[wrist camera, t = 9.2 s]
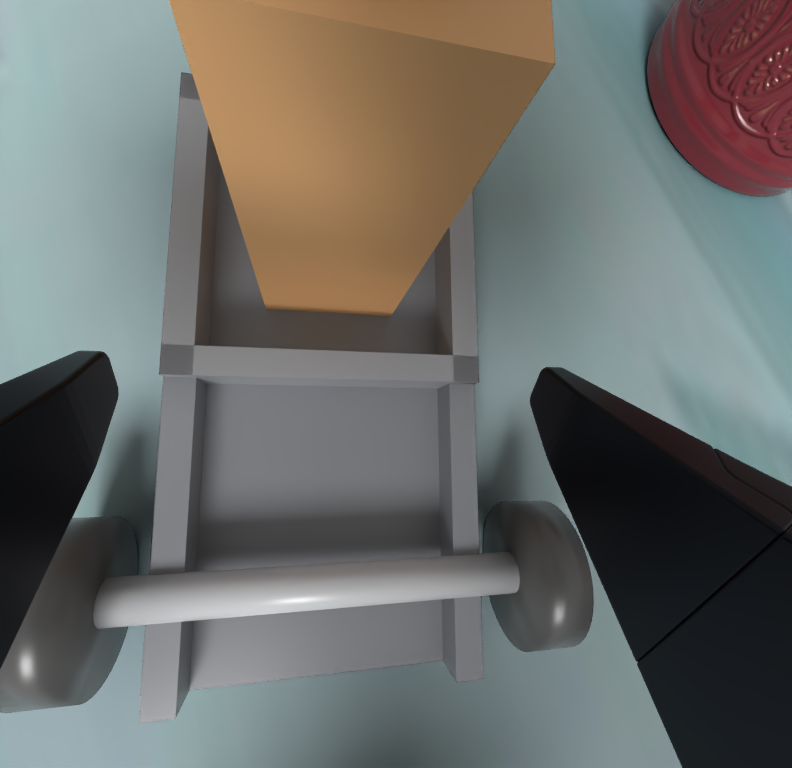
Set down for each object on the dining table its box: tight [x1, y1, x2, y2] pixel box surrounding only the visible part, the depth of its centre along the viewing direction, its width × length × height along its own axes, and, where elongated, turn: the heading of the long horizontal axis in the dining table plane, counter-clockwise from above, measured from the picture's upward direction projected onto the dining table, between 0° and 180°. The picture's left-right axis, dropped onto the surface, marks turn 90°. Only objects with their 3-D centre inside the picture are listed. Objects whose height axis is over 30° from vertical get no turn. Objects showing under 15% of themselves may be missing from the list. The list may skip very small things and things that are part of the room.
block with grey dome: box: [169, 0, 555, 317], centre depth 11 cm, size 5×5×14 cm
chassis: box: [0, 72, 594, 723], centre depth 15 cm, size 22×17×5 cm
